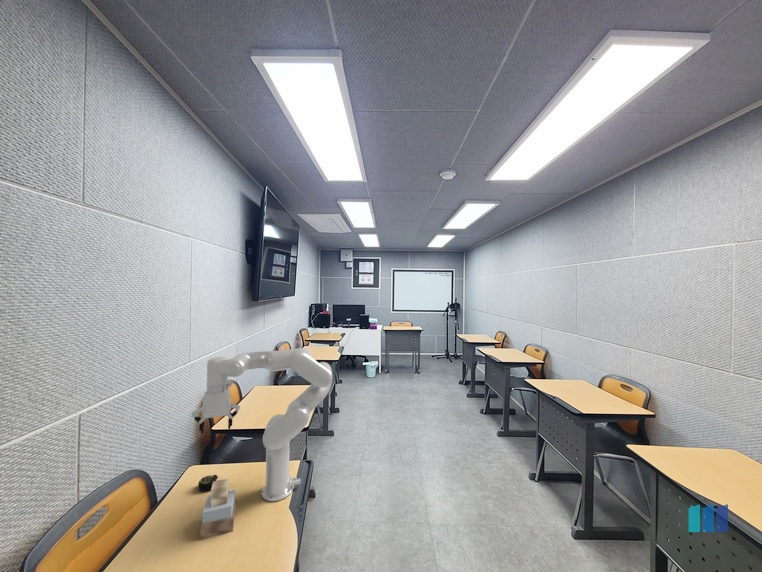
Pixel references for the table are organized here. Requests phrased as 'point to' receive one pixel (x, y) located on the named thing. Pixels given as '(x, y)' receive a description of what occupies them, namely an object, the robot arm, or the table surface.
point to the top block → (218, 509)
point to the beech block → (219, 492)
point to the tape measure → (207, 482)
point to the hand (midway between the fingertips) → (216, 430)
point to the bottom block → (218, 526)
